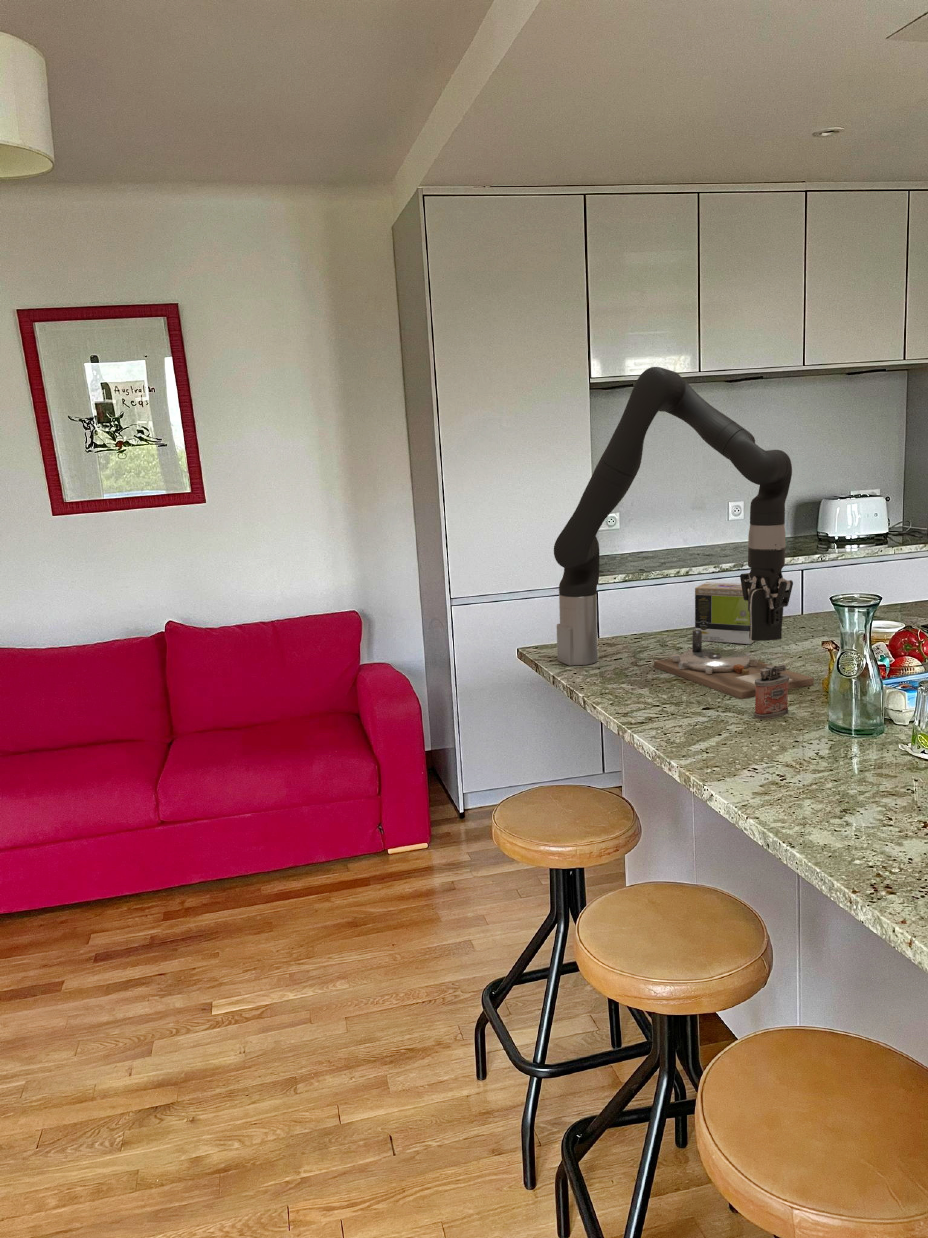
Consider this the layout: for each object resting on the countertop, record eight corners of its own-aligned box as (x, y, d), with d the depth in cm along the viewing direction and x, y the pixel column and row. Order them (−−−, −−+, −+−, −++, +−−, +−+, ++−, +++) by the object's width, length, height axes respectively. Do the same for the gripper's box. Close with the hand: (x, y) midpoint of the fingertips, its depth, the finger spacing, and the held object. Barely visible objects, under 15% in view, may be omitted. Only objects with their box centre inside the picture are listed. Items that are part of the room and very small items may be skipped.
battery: (776, 636, 199) (777, 585, 197) (783, 640, 195) (785, 588, 193) (745, 637, 199) (746, 586, 196) (751, 642, 195) (752, 589, 193)
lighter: (762, 720, 177) (763, 671, 175) (749, 716, 180) (750, 667, 178) (792, 713, 181) (793, 664, 179) (779, 708, 184) (780, 661, 182)
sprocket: (706, 678, 201) (706, 650, 200) (656, 660, 219) (656, 633, 217) (775, 666, 208) (775, 639, 207) (722, 649, 226) (722, 624, 224)
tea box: (760, 637, 244) (761, 583, 240) (750, 645, 235) (751, 589, 232) (705, 633, 252) (706, 580, 248) (693, 640, 243) (694, 586, 240)
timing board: (741, 699, 191) (741, 687, 190) (654, 667, 219) (654, 657, 218) (813, 684, 199) (814, 673, 198) (720, 655, 227) (720, 645, 226)
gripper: (730, 543, 198) (728, 620, 201) (777, 550, 185) (774, 631, 188) (757, 540, 201) (755, 615, 204) (805, 547, 188) (802, 627, 191)
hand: (764, 623), depth 196 cm, fingers closed on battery, 4 cm apart
